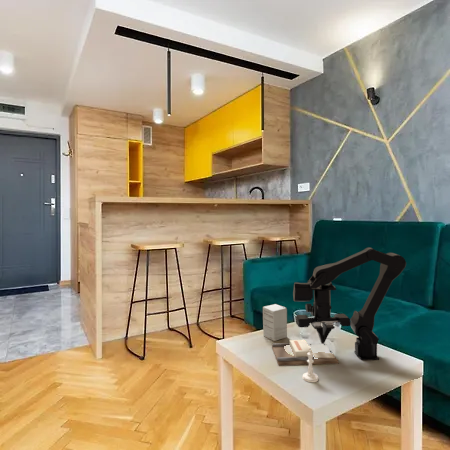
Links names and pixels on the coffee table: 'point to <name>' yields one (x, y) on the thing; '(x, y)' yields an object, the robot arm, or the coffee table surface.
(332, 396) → the coffee table surface
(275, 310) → the grey drawer cabinet
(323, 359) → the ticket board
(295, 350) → the cream flat box
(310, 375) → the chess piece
